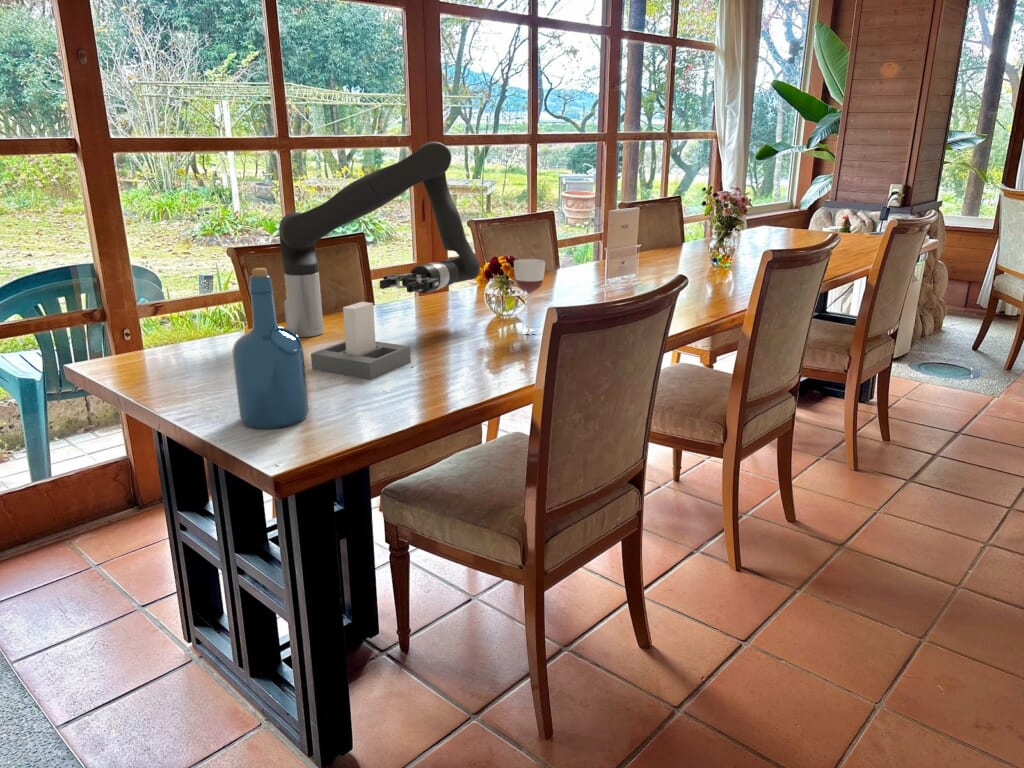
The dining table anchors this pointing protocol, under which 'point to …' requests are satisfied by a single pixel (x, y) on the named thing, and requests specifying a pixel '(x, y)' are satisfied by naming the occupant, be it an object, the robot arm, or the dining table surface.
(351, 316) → the white box
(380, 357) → the rack
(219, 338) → the dining table surface
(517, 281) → the wineglass
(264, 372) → the wine bottle
